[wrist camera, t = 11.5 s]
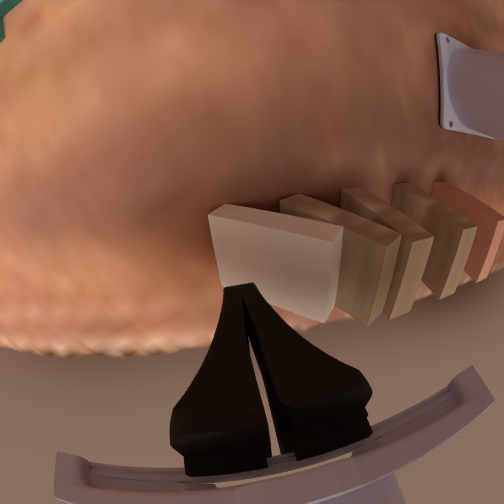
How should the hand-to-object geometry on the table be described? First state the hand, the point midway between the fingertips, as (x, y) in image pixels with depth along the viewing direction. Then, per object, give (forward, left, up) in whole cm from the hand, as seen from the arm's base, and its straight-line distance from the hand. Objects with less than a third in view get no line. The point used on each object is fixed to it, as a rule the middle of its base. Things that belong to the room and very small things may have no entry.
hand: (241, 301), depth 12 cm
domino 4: (-17, 0, -6) cm, 18 cm away
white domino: (0, 0, -5) cm, 5 cm away
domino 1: (-4, 0, -5) cm, 7 cm away
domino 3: (-13, 0, -6) cm, 14 cm away
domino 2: (-8, 0, -6) cm, 10 cm away
